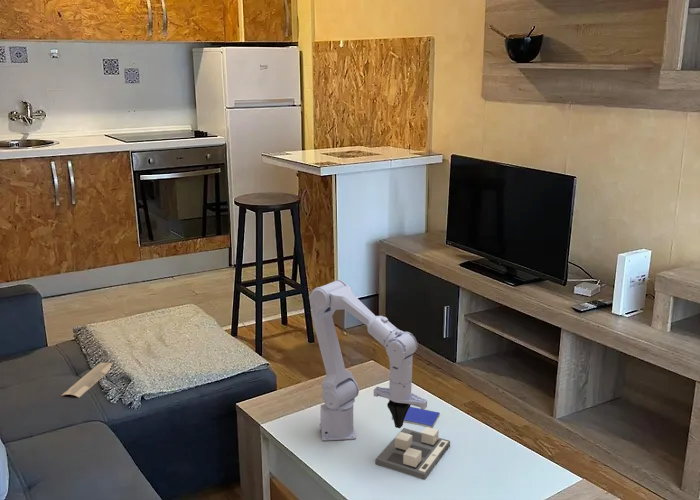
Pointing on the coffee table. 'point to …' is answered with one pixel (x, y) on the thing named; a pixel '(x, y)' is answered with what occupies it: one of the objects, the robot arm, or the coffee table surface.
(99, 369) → the tan wooden bar
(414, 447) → the switch bank
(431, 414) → the hard drive
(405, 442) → the tab
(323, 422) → the robot arm
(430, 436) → the tab
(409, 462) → the tab
